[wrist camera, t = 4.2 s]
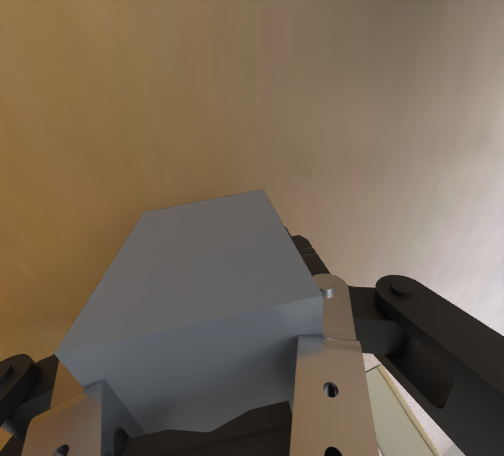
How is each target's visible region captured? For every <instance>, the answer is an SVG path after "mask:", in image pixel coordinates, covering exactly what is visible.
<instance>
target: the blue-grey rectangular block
mask: <svg viewBox="0 0 504 456" xmlns="http://www.w3.org/2000/svg"><path fill="white" fill-rule="evenodd" d="M299 335H309V336H319V337H323V295H322V293H321V291H320V289H319V287H318V286H317V284H316V282H315V280H314V279H313V277H312V275H311V273H310V271H309V270H308V268H307V266H306V264H305V263H304V261H303V259H302V257H301V255H300V254H299V252H298V250H297V248H296V247H295V245H294V243H293V241H292V239H291V238H290V236H289V234H288V232H287V230H286V229H285V227H284V225H283V223H282V222H281V220H280V218H279V216H278V214H277V213H276V211H275V209H274V207H273V206H272V204H271V202H270V200H269V198H268V197H267V195H266V193H265V191H264V189H261V190H256V191H251V192H246V193H241V194H235V195H230V196H225V197H220V198H215V199H209V200H204V201H199V202H194V203H189V204H183V205H178V206H173V207H168V208H163V209H157V210H152V211H147V212H143V214H142V216H141V217H140V219H139V220H138V222H137V223H136V225H135V227H134V228H133V230H132V231H131V233H130V235H129V236H128V238H127V239H126V241H125V242H124V244H123V246H122V247H121V249H120V250H119V252H118V254H117V255H116V257H115V258H114V260H113V261H112V263H111V265H110V266H109V268H108V269H107V271H106V273H105V274H104V276H103V277H102V279H101V280H100V282H99V284H98V285H97V287H96V288H95V290H94V291H93V293H92V295H91V296H90V298H89V299H88V301H87V303H86V304H85V306H84V307H83V309H82V310H81V312H80V314H79V315H78V317H77V318H76V320H75V322H74V323H73V325H72V326H71V328H70V329H69V331H68V333H67V334H66V336H65V337H64V339H63V341H62V342H61V344H60V345H59V347H58V348H57V350H56V352H55V353H54V354H55V356H56V357H57V358H58V359H59V360H60V361H61V363H62V364H63V365H64V366H65V367H66V368H67V369H68V371H69V372H70V373H71V374H72V375H73V376H74V378H75V379H76V380H77V381H78V382H79V383H80V385H81V386H82V387H83V388H84V389H86V388H88V387H90V386H92V385H94V384H96V383H97V382H99V381H101V380H104V379H105V380H106V382H107V383H108V384H109V386H110V387H111V388H112V390H113V391H114V392H115V394H116V395H117V396H118V398H119V399H120V400H121V401H122V403H123V404H124V405H125V407H126V408H127V409H128V411H129V412H130V413H131V415H132V416H133V417H134V418H135V420H136V421H137V422H138V424H139V425H140V426H141V428H142V429H143V430H144V432H145V433H146V434H150V433H154V432H158V431H163V430H167V429H172V430H185V431H197V432H210V431H213V430H215V429H216V428H218V427H220V426H222V425H224V424H225V423H227V422H229V421H231V420H232V419H234V418H236V417H238V416H240V415H241V414H243V413H245V412H247V411H248V410H250V409H255V408H259V407H263V406H267V405H271V404H276V403H280V402H284V401H288V400H289V404H290V408H291V412H292V413H293V403H294V390H295V376H296V363H297V350H298V339H299Z"/></svg>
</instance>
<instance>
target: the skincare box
mask: <svg viewBox="0 0 504 456" xmlns="http://www.w3.org/2000/svg"><path fill="white" fill-rule="evenodd" d="M366 379H367V385H368V391H369V397H370V403H371V409H372V415H373V421H374V427H375V433H376V439H377V445H378V447H379V449H380V452H381V454H382V456H441V454H440V453H439V451H438V450H437V448H436V446H435V445H434V443H433V442H432V440H431V439H430V437H429V436H428V434H427V433H426V431H425V430H424V428H423V427H422V425H421V423H420V422H419V420H418V419H417V417H416V416H415V414H414V413H413V411H412V410H411V408H410V407H409V405H408V404H407V402H406V400H405V399H404V397H403V396H402V394H401V393H400V391H399V390H398V388H397V387H396V385H395V384H394V382H393V381H392V379H391V378H390V376H389V375H388V373H387V372H386V370H385V369H384V367H383V366H382V365H380V366H378V367H376V368H374V369H372V370H370V371H368V372H366Z"/></svg>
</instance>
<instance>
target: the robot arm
mask: <svg viewBox="0 0 504 456" xmlns="http://www.w3.org/2000/svg"><path fill="white" fill-rule="evenodd" d="M285 229H286V230H287V228H286V227H285ZM287 232H288V230H287ZM288 234H289V236H290V238H291V239H292V241H293V243H294V245H295V247H296V248H297V250H298V252H299V254H300V255H301V257H302V259H303V261H304V263H305V264H306V266H307V268H308V270H309V271H310V273H311V275H312V277H313V279H314V280H315V282H316V284H317V286H318V287H319V289H320V291H321V293H322V295H323V337H319V336H309V335H299V339H298V350H297V363H296V376H295V390H294V403H293V413H292V412H291V408H290V404H289V400H288V401H284V402H280V403H276V404H271V405H267V406H263V407H259V408H255V409H250V410H248V411H247V412H245V413H243V414H241V415H240V416H238V417H236V418H234V419H232V420H231V421H229V422H227V423H225V424H224V425H222V426H220V427H218V428H216V429H215V430H213V431H210V432H197V431H185V430H172V429H167V430H163V431H158V432H154V433H150V434H146V433H145V432H144V430H143V429H142V428H141V426H140V425H139V424H138V422H137V421H136V420H135V418H134V417H133V416H132V415H131V413H130V412H129V411H128V409H127V408H126V407H125V405H124V404H123V403H122V401H121V400H120V399H119V398H118V396H117V395H116V394H115V392H114V391H113V390H112V388H111V387H110V386H109V384H108V383H107V382H106V380H105V379H104V380H101V381H99V382H97V383H96V384H94V385H92V386H90V387H88V388H86V389H84V388H83V387H82V386H81V385H80V383H79V382H78V381H77V380H76V379H75V378H74V376H73V375H72V374H71V373H70V372H69V371H68V369H67V368H66V367H65V366H64V365H63V364H62V363H61V361H60V360H59V359H58V358H57V357H56V356H55V354H54V355H52V356H50V357H47V358H45V359H43V360H41V361H39V362H36V363H35V362H34V361H33V360H32V359H31V358H30V357H29V356H28V355H26V354H19V355H15V356H12V357H9V358H7V359H5V360H3V361H1V362H0V427H2V428H3V429H5V430H6V431H7V432H9V433H10V434H11V435H13V436H12V437H11V438H10V440H9V441H8V442H7V443H6V445H5V446H4V447H3V449H2V450H1V451H0V456H379V451H378V445H377V439H376V433H375V427H374V421H373V415H372V409H371V403H370V397H369V391H368V385H367V379H366V373H365V367H364V361H363V355H362V353H370V354H374V356H375V357H376V358H377V359H378V360H379V361H380V362H381V363H382V365H383V366H384V367H385V368H386V369H387V370H388V371H389V372H390V373H391V374H392V375H393V377H394V378H395V379H396V380H397V381H398V382H399V383H400V384H401V385H402V386H403V388H404V389H405V390H406V391H407V392H408V393H409V394H410V395H411V396H412V397H413V398H414V400H415V401H416V402H417V403H418V404H419V405H420V406H421V407H422V408H423V409H424V411H425V412H426V413H427V414H428V415H429V416H430V417H431V418H432V419H433V420H434V421H435V423H436V424H437V425H438V426H439V427H440V428H441V429H442V430H443V431H444V432H445V434H446V435H447V436H448V437H449V438H450V439H451V440H452V441H453V442H454V443H455V444H456V446H457V447H458V448H459V449H460V450H461V451H462V452H463V453H464V454H465V455H466V456H504V336H502V335H501V334H499V333H498V332H496V331H494V330H493V329H491V328H490V327H488V326H487V325H485V324H483V323H482V322H480V321H479V320H477V319H476V318H474V317H472V316H471V315H469V314H468V313H466V312H465V311H463V310H462V309H460V308H458V307H457V306H455V305H454V304H452V303H451V302H449V301H447V300H446V299H444V298H443V297H441V296H440V295H438V294H436V293H435V292H433V291H432V290H430V289H429V288H427V287H425V286H424V285H422V284H421V283H419V282H418V281H416V280H414V279H411V278H409V277H405V276H400V275H388V276H384V277H382V278H380V279H379V280H378V281H377V283H376V288H370V287H353V286H348V285H347V284H346V282H345V281H344V280H342V279H341V278H339V277H337V276H335V275H331V274H330V272H329V271H328V269H327V268H326V266H325V265H324V263H323V262H322V260H321V259H320V257H319V256H318V254H316V252H315V250H314V249H313V248H312V246H311V244H310V243H309V241H308V240H307V239H305V238H304V237H302V236H300V235H297V236H292V237H291V235H290V233H289V232H288Z"/></svg>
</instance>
